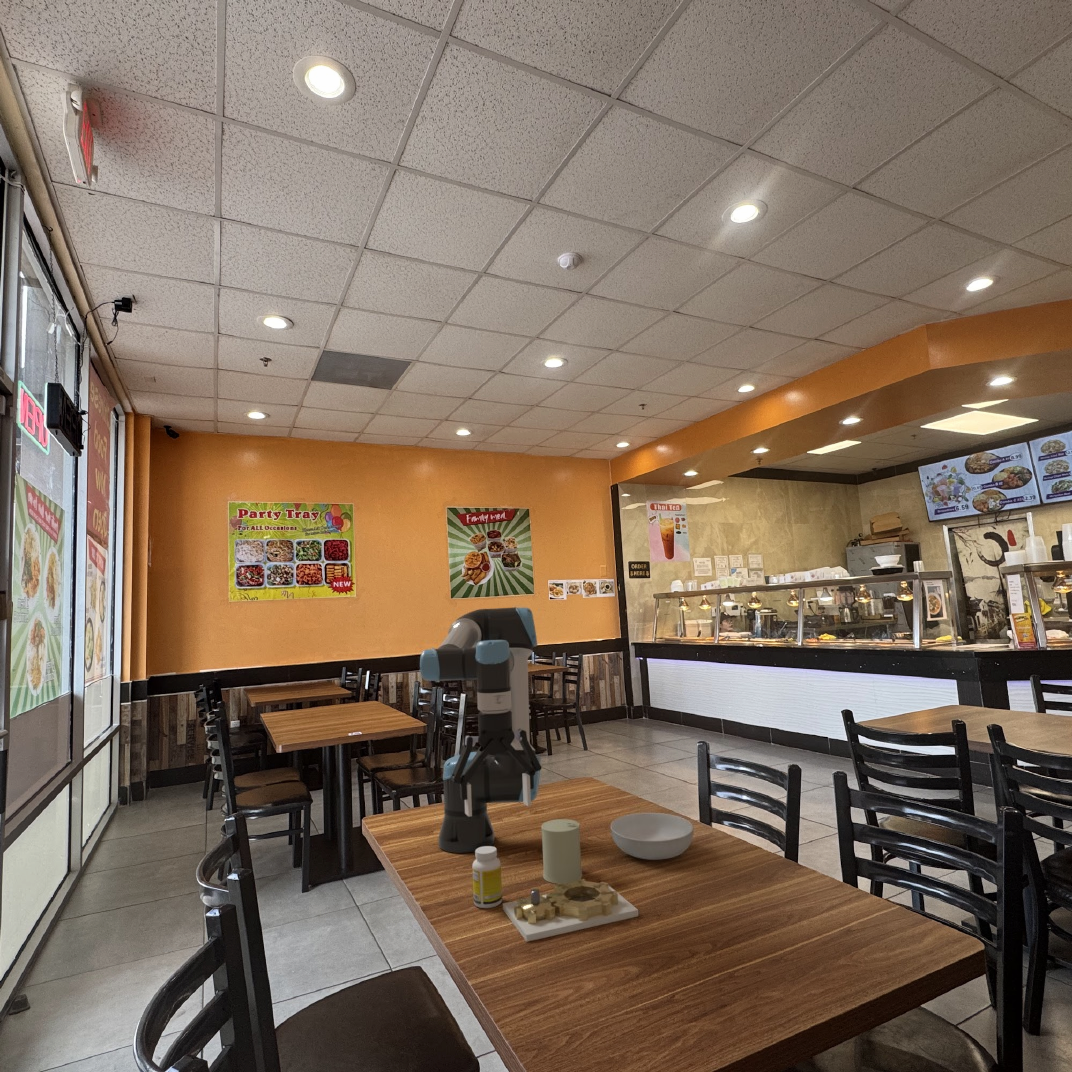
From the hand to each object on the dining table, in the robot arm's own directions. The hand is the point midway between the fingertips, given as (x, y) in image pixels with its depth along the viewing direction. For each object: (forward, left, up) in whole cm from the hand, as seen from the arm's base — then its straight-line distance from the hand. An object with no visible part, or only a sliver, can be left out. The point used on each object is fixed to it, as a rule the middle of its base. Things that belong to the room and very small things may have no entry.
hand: (498, 809), depth 145 cm
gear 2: (+11, +14, -18) cm, 25 cm away
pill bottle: (-1, -3, -20) cm, 20 cm away
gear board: (+11, +11, -19) cm, 25 cm away
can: (-7, +17, -20) cm, 27 cm away
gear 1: (+11, +4, -18) cm, 21 cm away
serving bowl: (-10, +43, -20) cm, 49 cm away
